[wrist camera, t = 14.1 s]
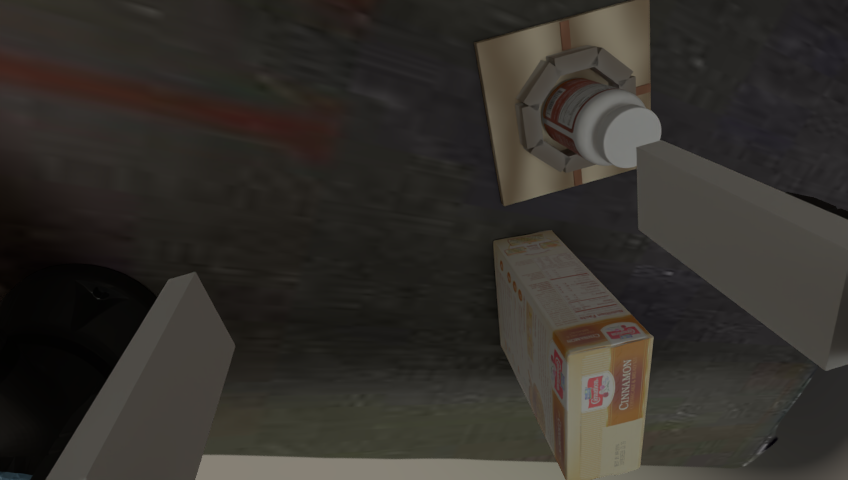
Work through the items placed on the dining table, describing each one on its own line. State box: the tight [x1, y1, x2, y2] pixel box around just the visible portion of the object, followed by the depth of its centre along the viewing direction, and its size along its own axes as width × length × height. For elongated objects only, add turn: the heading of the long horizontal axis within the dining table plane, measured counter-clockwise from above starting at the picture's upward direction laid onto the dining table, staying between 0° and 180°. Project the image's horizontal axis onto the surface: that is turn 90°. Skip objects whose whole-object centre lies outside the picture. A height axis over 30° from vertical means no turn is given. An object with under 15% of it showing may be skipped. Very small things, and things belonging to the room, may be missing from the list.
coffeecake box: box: [493, 230, 654, 480], centre depth 47 cm, size 15×7×20 cm, turn 8°
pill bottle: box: [542, 78, 661, 168], centre depth 41 cm, size 6×6×11 cm
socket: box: [474, 0, 651, 206], centre depth 46 cm, size 16×16×3 cm
